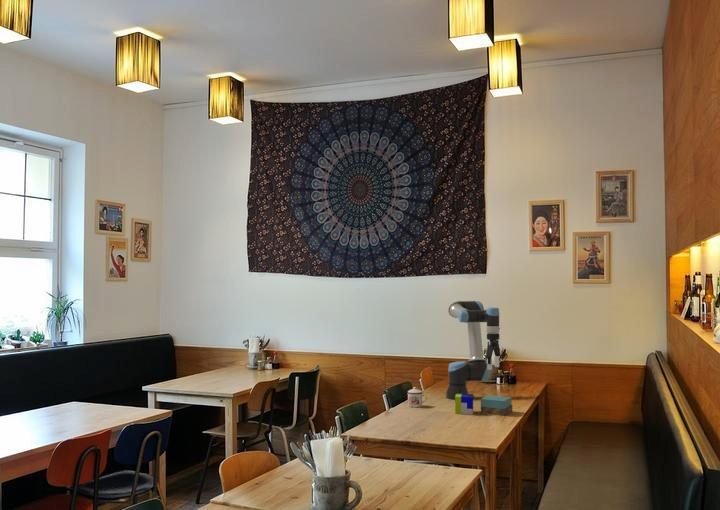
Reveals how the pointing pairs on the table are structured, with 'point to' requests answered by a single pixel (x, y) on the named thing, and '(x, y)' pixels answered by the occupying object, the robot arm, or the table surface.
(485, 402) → the top block
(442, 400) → the table surface
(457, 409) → the puzzle toy
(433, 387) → the table surface
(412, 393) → the teacup with lid
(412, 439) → the table surface
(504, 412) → the base block
